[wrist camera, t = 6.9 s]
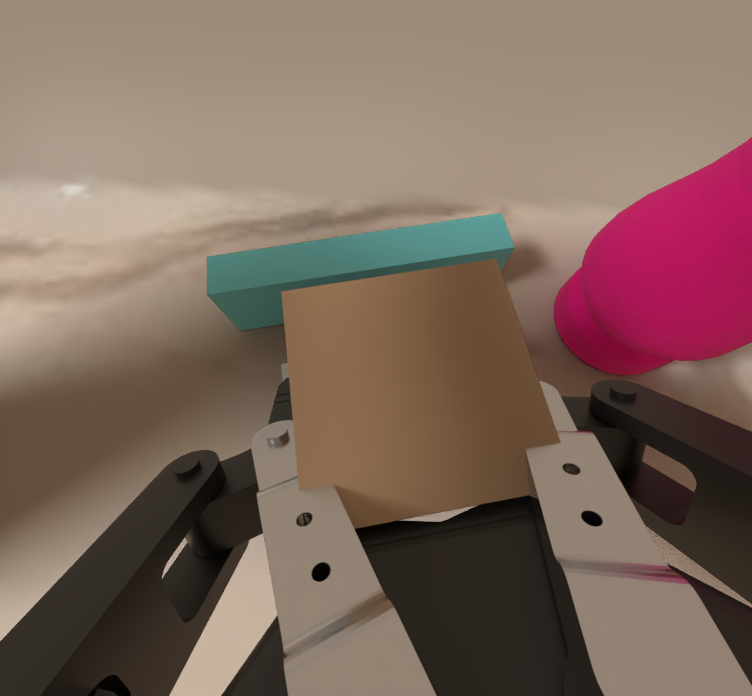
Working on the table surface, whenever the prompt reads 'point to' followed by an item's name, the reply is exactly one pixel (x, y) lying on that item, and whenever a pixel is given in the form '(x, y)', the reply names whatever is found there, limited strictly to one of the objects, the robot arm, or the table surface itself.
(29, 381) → the table surface
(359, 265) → the wall
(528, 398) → the peg
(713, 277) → the pepper mill
